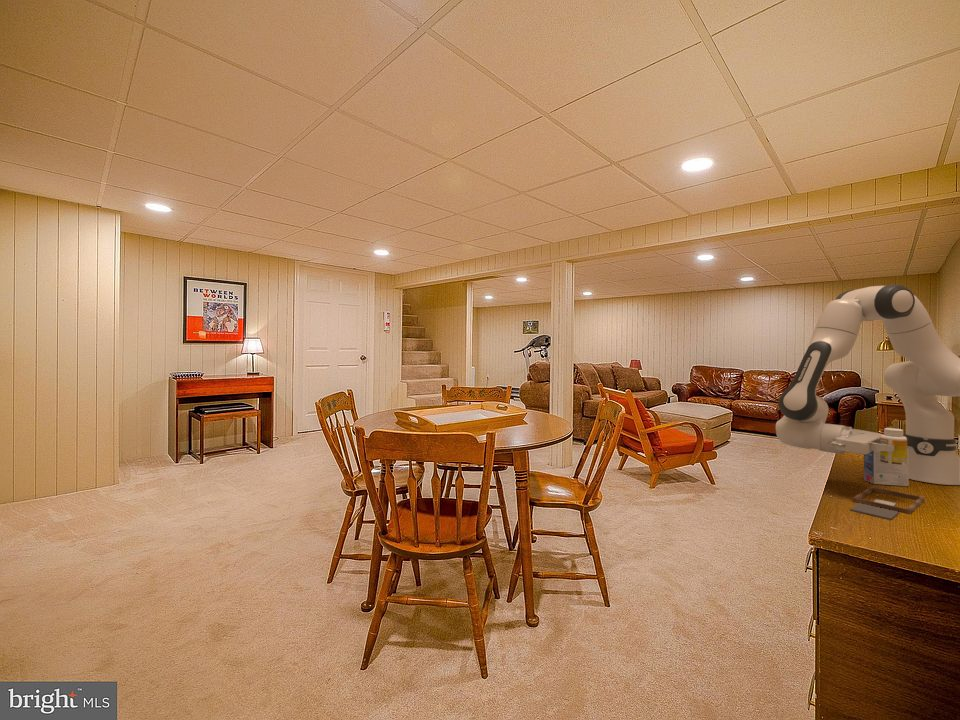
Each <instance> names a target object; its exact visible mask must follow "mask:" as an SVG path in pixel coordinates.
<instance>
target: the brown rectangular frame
mask: <svg viewBox="0 0 960 720" xmlns="http://www.w3.org/2000/svg"><path fill="white" fill-rule="evenodd" d="M872 491H873V492H875V491H876V493H881V494H886V495H890V496H896V497H900V496H901V498H905V499H906V498H907V499H911V500H914V502H913V503H911V504H910V505H909V506H908V507H907V508H905V507H901V506H900V507H899V506H897V505H895V506H892V505H887V504H883V503H878V502H874V500H873V501H872V500H870V499H864V498H865V497H867V496H868V495H869V494H872ZM864 496H865V497H864ZM861 498H862V499H861ZM853 502H855V503H857V504H858V503H863V504H866V505H867V504H868V505H873V506H875V507H876V506H877V507H882V508H884V509H885V508H886V509H890V510H893V511H899V513H904V514H908V515H912V513H913V512H915V510H916V509H917V508H918V507H919V506H920V505H922V504H923V503H924V502H925V496H919V495H915V494H910V493H906V492H905V493H904V492H900V491H894V490H889V489H884V488H879V487H873V486H869V487H868V488H866V489H864V490H863V491H862V492H859V493H858V494H856V495H855V496H853V497H852V503H853Z"/></svg>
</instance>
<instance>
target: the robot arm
mask: <svg viewBox="0 0 960 720" xmlns="http://www.w3.org/2000/svg"><path fill="white" fill-rule="evenodd" d="M879 320H880V321H881V322H882V325H883V327H884V328H883V329H884V330H885V333H886V335H887V338H888V340H889V341H890V344H891V346H892V348H893V351H894V352H895V353H896V354H898V355H899V356H901V357H903V358H905V359H907V360H908V361H901V362H895V363H892V364H890V365H889V366H888V367H887V368H886V369H885V370H884V374H883V380H884V383H885V385H886V386H887V387H888V388H890V389H891V390H892V391H893V392H894V393H895V394H896V395H897V396H898V398H899V399H900V402H901V403H902V406H903V408H904V413H905V433H903V436H904V437H906V438H907V448H909V480H913V481H918V482H921V483H922V482H924V483H928V484H934V485H935V484H937V485H948V486H960V455H958V454H957V452H956V449H957V442H956V439H955V416H954V414H953V412H952V411H950V410H949V409H947V408H945V407H944V406H943V405H941V404H940V402H939V401H938V398H937V396H941V397H942V396H943V397H954V398H955V397H960V357H959V356H957V355H956V354H955V353H954V352H953V351H952V350H951V349H949V348H948V347H947V346H946V345H945V343H944V342H943V341H942V339H941V338H940V336H939V334H938V332H937V330H936V328H935V325H934V323H933V321H932V318H931V316H930V314H929V312H928V311H927V309H926V307H925V306H924V305H923V303H922V302H921V300H920V299H919V298H918V297H917V296H916V295H915V294H914V293H913V292H912V290H911V289H909V288H908V287H906V286H904V285H901V284H887V285H874V286H873V285H872V286H867V287H862V288H858V289H857V288H856V289H849V290H847V291H843V292H842V293H840V294H838V295H837V297H835V298H834V299H833V300H831V301H829V302H828V303H827V304H826V306H825V308H824V309H823V311H822V312H821V314H820V316H819V318H818V320H817V322H816V324H815V328H814V330H813V333H812V336H811V338H810V342H809V345H808V346H807V349H806V351H805V353H804V354H803V357H802V359H801V362H800V364H799V366H798V368H797V370H796V372H795V374H794V378H793V379H792V381H791V383H790V384H789V386H788V387H787V388H785V390H783V392H782V393H781V394H780V396H779V397H778V402H777V403H778V405H777V406H778V409H779V411H780V413H781V414H782V415H783V416H782V417H781V418H780V419H779V420H777V421H776V423H775V427H774V428H775V436H776V437H777V439H778V440H779V441H780V443H782V444H784V445H787V446H790V447H794V448H800V449H806V450H810V449H811V450H813V449H814V450H818V451H820V452H823V453H824V452H826V453H831V454H837V455H845V453H852V454H858V455H864V454H868V453H870V452H872V451H887V452H894V451H895V446H894V445H888V444H886V445H885V444H880V436H881V435H884V433H883V434H882V433H879V432H874V431H868V430H862V429H858V428H857V429H856V428H853V427H852V426H848V425H847V426H846V425H842V424H832V423H826V422H827V420H828V416H829V411H830V408H829V405H828V403H827V401H826V400H825V399H824V398H822V397H820V396H819V395H817V388H818V386H819V384H820V381H821V378H822V376H823V374H824V372H825V370H826V368H827V367H828V365H829V364H830V363H832V362H834V361H837V360H840V359H842V358H844V357H847V356H848V355H849V353H850V352H851V351H852V349H853V347H854V346H855V343H856V341H857V338H858V335H859V331H860V329H861V324H862V323H863V322H873V321H879Z"/></svg>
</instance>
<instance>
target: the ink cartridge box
mask: <svg viewBox="0 0 960 720" xmlns="http://www.w3.org/2000/svg"><path fill="white" fill-rule="evenodd" d="M909 480H910V479H909V448H907V465H906V466H904V467H896V466H889V465H885V464H882V463H881V462H880V451H872V452H870V453H868V454H863V481H865V482H867V481H868V482H867V483H869V482H870V483H869V484H872V485H883V486H884V485H886V486H899V487H900V486H901V487H902V486H903V487H909V485H910V484H909V483H910V481H909Z"/></svg>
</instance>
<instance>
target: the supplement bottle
mask: <svg viewBox="0 0 960 720" xmlns="http://www.w3.org/2000/svg"><path fill="white" fill-rule="evenodd" d="M880 444H885V445H886V444H888V445H894V446H895V451H894V452H887V451H880V462H881V463H882V464H885V465H889V466H896V467H904V466H906V465H907V438H906V437H904V429H903V428H902V429H901V428H893V427H885V428H884V429H883V435H881V436H880Z"/></svg>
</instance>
